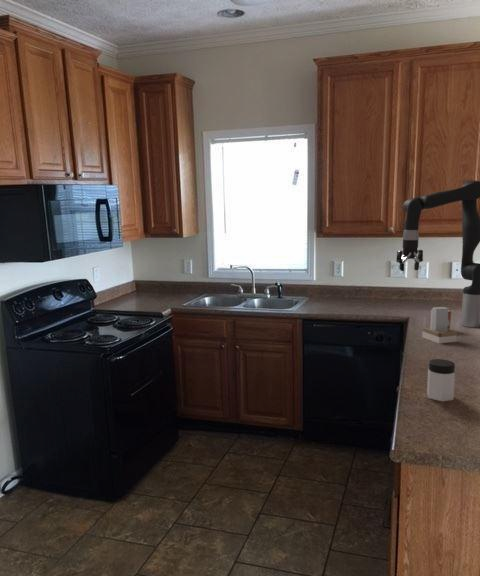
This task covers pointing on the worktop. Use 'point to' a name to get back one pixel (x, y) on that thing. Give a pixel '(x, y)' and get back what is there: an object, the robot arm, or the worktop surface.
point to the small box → (448, 320)
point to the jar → (441, 380)
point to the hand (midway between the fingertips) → (409, 270)
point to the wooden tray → (439, 336)
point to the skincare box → (439, 319)
